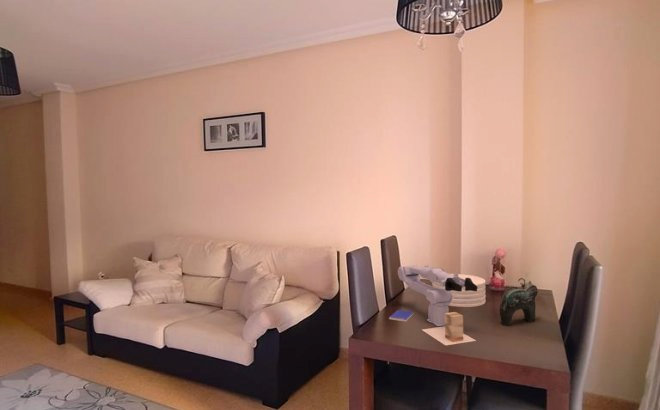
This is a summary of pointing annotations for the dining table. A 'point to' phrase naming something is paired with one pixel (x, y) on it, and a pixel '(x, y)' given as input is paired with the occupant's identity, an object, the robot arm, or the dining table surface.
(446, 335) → the birch block
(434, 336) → the beige mat
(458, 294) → the plate stack
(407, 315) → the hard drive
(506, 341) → the dining table surface
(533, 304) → the green elephant figurine
